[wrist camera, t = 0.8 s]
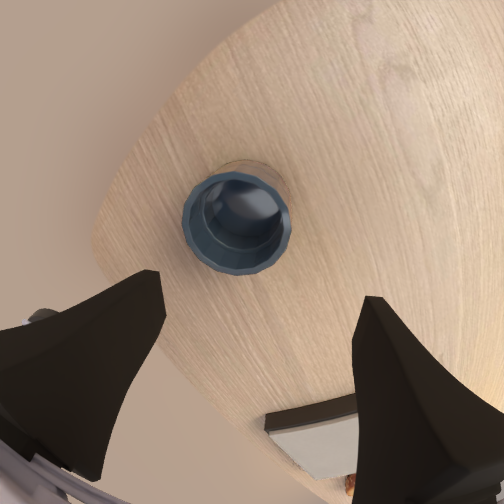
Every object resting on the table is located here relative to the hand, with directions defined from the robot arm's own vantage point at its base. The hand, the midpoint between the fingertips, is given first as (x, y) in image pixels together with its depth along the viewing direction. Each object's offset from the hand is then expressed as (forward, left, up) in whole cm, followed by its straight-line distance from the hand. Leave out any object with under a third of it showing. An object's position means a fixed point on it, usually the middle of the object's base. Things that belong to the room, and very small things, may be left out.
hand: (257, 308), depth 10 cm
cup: (-2, 0, -10) cm, 10 cm away
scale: (+16, -23, -10) cm, 30 cm away
